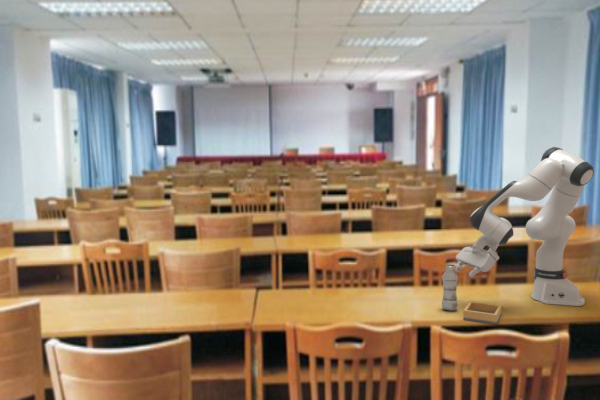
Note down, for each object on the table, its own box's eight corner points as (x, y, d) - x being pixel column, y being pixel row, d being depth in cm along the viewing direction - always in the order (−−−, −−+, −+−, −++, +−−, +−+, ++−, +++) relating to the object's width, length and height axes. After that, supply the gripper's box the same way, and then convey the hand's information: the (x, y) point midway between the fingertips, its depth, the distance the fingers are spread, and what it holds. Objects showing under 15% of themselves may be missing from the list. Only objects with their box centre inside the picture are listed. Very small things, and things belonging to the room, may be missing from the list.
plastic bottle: (458, 312, 236) (459, 267, 234) (441, 311, 238) (442, 266, 235) (456, 308, 243) (458, 263, 240) (441, 307, 244) (442, 263, 242)
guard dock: (501, 314, 233) (501, 305, 233) (496, 324, 222) (496, 314, 221) (469, 310, 239) (469, 301, 239) (463, 319, 228) (463, 310, 227)
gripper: (464, 240, 249) (445, 263, 248) (493, 249, 230) (473, 274, 228) (472, 249, 251) (453, 272, 249) (502, 258, 232) (481, 283, 230)
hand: (463, 273), depth 239 cm, fingers open, 8 cm apart
